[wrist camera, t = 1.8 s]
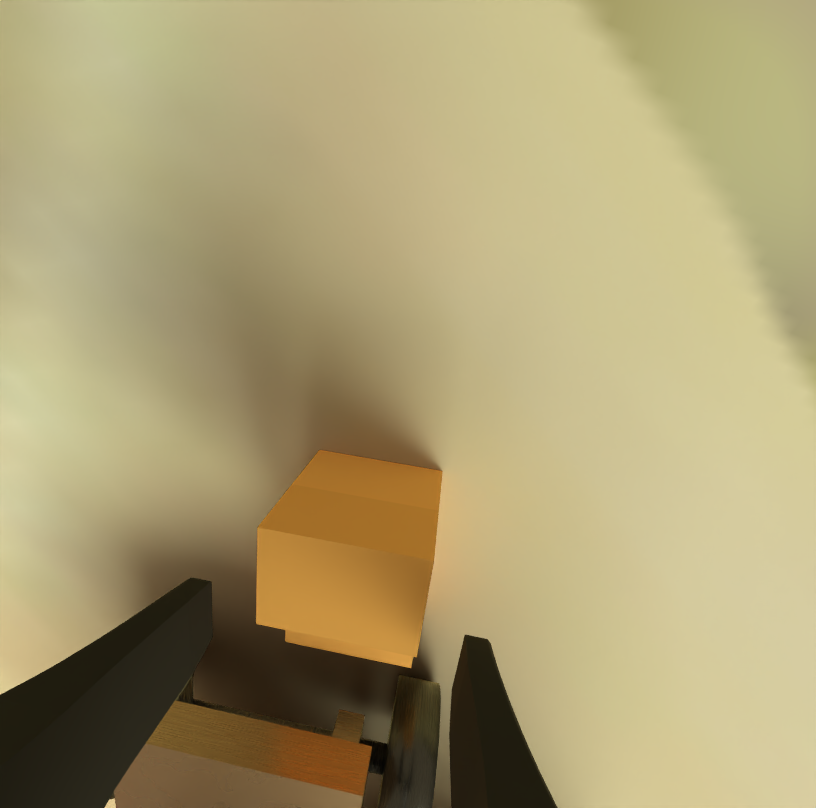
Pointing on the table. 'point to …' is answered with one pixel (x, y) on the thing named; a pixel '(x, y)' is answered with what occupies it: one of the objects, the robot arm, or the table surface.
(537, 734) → the table surface
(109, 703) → the robot arm
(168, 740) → the wooden toy car
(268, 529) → the block
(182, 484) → the table surface
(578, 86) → the table surface
